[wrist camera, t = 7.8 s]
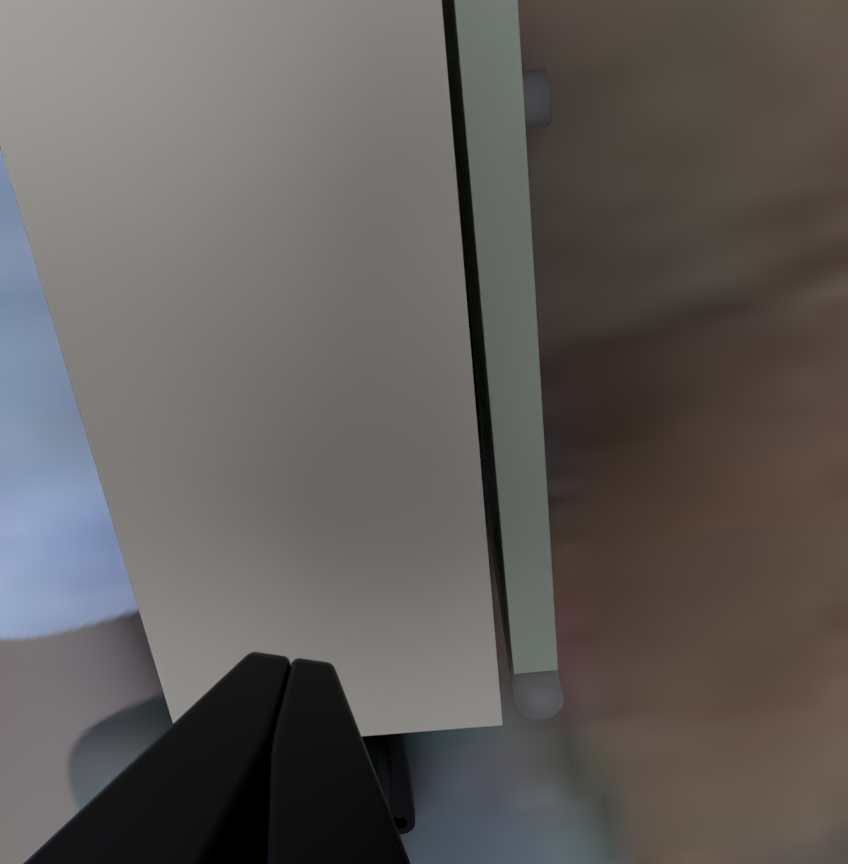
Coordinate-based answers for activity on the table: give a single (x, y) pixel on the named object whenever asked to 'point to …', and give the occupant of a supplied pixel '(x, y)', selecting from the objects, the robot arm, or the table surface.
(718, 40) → the table surface
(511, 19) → the door
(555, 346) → the table surface
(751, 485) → the table surface
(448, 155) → the cabinet
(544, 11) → the table surface
